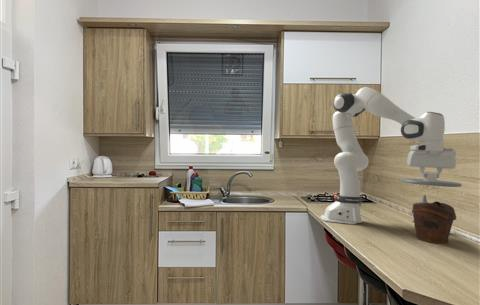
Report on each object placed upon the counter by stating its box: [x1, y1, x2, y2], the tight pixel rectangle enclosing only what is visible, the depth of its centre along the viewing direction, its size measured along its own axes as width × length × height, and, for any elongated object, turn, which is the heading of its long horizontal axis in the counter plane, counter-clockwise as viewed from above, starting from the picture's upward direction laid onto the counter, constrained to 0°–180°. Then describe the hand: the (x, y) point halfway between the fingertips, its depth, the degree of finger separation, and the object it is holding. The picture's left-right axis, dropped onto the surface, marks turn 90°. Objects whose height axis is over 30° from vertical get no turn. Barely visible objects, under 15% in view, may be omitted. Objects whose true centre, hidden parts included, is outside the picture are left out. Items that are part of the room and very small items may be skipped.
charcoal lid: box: [400, 171, 462, 188], centre depth 152 cm, size 24×24×5 cm
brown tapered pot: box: [411, 201, 457, 244], centre depth 155 cm, size 18×20×18 cm
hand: (430, 177), depth 152 cm, fingers closed on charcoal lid, 4 cm apart
